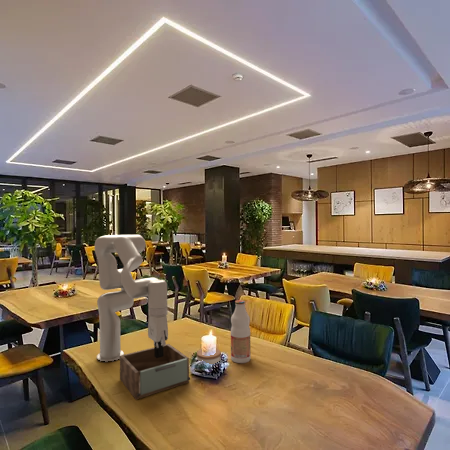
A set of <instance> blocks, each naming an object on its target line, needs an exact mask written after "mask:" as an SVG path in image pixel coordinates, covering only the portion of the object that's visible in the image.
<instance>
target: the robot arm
mask: <svg viewBox="0 0 450 450" xmlns="http://www.w3.org/2000/svg"><path fill="white" fill-rule="evenodd" d="M145 248H146V240H145V239H144V237H143V236H142V235H141V234H111V235H108V234H107V235H102V236H99V237H97V238H96V240H95V242H94V252H95V256H96V259H97V262H98V263H97V264H98V276H99V277H98V280H99V286H100V288H101V289H102V290H104V291H110V290H111V291H110V292H106V293H103V294H101V295H100V296H99V297H98V298H97V301H96V302H97V309H98V315H99V317H98V318H99V353H98V354H97V355H96V360H97V359H98V360H100V361H99V362H101V361H105V362H104V363H109V362H108V361H112V362H115V361H114V360H116V361H118V359H119V360H120V356H121V355H125V352H124V351H123V350H121V319H120V317H119V316H118V314H117V313H116V312H119V311H123V310H127V309H130V308H132V306H133V305H134V301H135V299H141V298H144V297H145V298H146V297H147V301H148V304H147V305H148V310H147V311H148V321H147V322H148V325H147V336H148V338H149V339H150V340H152V341H153V348H154V355H155V357H156V358H159V357H163V356H164V354H163V347H164V345H166V344H167V343H166V342H167V341H168V339H169V327H168V326H169V325H168V317H167V315H168V312H169V311H168V284H167V281H166V280H164V279H159V278H157V277H146V278H138V279H134V278H133V274H132V272H133V271H134V270H136V269H138V268H139V267H140V266H141V265H142V263H143V256H142V255H141V253H142V252H143V251H144V250H145ZM112 253H116V254H117V256H118V257H119V259H120V261H121V263H122V265H123V267H122V268H119V269H118V264H117V259H116V258H115V256H114V255H113V254H112ZM117 289H120V290H117ZM112 290H115V291H112ZM98 360H97V361H98Z"/></svg>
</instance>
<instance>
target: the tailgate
mask: <svg viewBox="0 0 450 450" xmlns="http://www.w3.org/2000/svg"><path fill="white" fill-rule="evenodd" d="M186 380H187V359H186V358H185V359H181V360H178V361H174V362H171V363H167V364H164V365H160V366H156V367H153V368H149V369H146V370H142V371H140V394H141V395H143V394H146V393H149V392H152V391H155V390H158V389H161V388H164V387H167V386H170V385H173V384H177V383H180V382H183V381H186Z"/></svg>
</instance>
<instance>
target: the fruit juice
mask: <svg viewBox="0 0 450 450" xmlns="http://www.w3.org/2000/svg"><path fill="white" fill-rule="evenodd" d="M234 303H235V308H234V311H233V313H232V315H231V317H230V323H231V327H230V359H231V361H232V362H234V363H236V364H246V363H249V362H250V361H251V357H252V356H251V328H250V322H251V318H250V315H249V314H248V311H247V310H246V306H245V305H246V301H245V300H243V299H237V300H235V301H234Z"/></svg>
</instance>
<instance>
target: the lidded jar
mask: <svg viewBox="0 0 450 450" xmlns="http://www.w3.org/2000/svg"><path fill="white" fill-rule="evenodd" d="M202 349H203V348H201V349H199V350H197V351H196V360H197V359H198V360H199V361H202V360H203V361H205V362H206V363H209V364H215V363H217V362H219V361H220V362H221V354H222V353H221V350H220V349H219V348H216V353H215V354H214V355H210V356H204V355H202Z"/></svg>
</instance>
